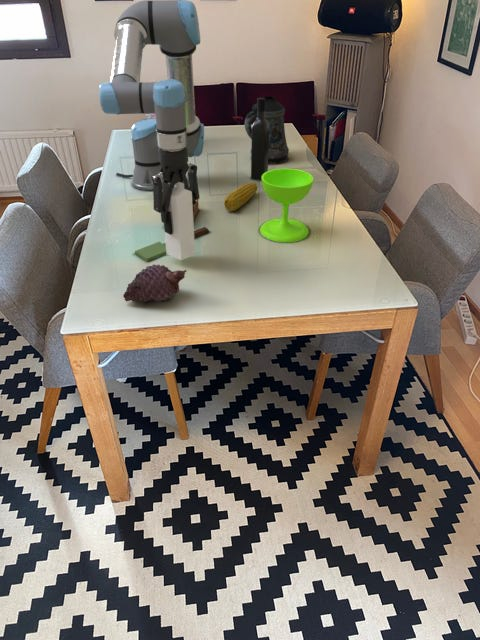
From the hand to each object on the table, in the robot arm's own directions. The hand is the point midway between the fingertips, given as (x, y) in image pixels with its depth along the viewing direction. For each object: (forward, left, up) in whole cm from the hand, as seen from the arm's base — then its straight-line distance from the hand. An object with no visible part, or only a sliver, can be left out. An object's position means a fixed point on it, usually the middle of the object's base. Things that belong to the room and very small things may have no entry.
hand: (179, 228), depth 146 cm
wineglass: (+7, +37, -11) cm, 39 cm away
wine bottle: (-32, +64, -11) cm, 72 cm away
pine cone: (+10, -16, -11) cm, 22 cm away
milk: (0, 0, -8) cm, 8 cm away
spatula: (-10, +5, -11) cm, 15 cm away
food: (-19, +42, -11) cm, 47 cm away
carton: (-23, +18, -11) cm, 31 cm away
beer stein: (-45, +82, -11) cm, 94 cm away
